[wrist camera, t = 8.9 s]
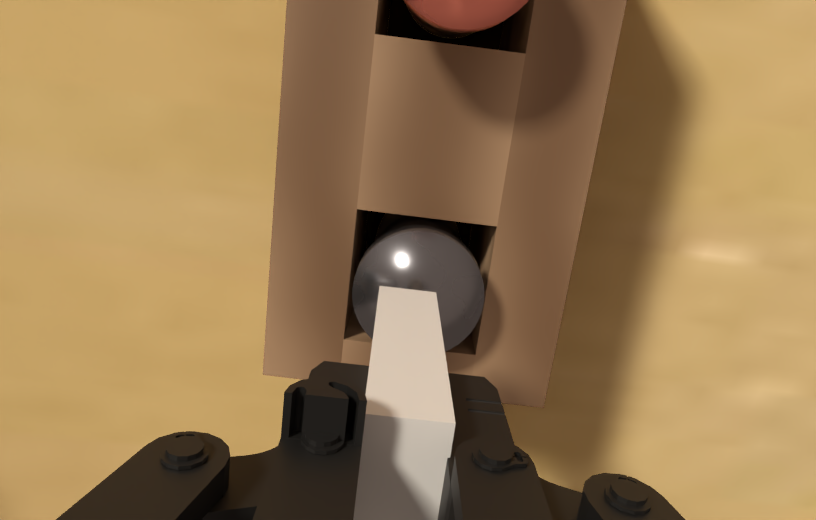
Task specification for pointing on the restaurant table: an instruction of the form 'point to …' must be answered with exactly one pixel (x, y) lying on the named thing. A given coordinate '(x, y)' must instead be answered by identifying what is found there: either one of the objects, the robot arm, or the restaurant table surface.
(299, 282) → the block
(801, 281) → the restaurant table surface
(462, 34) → the plug red
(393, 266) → the plug grey
